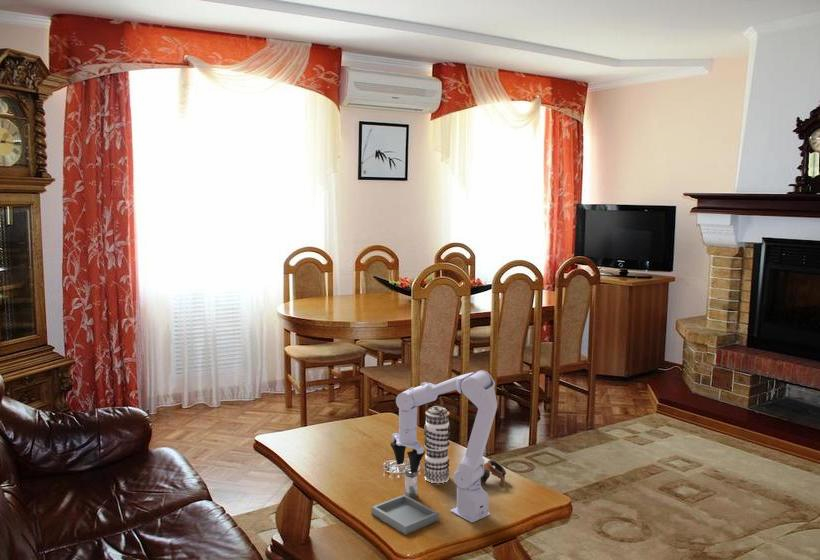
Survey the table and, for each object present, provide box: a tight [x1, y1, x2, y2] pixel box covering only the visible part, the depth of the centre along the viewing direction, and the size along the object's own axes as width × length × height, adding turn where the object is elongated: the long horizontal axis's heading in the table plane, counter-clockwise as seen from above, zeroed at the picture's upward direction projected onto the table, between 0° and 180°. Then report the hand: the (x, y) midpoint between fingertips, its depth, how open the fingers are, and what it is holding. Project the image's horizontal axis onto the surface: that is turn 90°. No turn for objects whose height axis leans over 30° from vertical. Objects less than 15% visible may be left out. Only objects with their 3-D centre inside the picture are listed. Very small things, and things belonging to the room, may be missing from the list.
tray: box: [371, 493, 440, 536], centre depth 203 cm, size 16×13×2 cm
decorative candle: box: [423, 405, 452, 484], centre depth 229 cm, size 9×9×25 cm
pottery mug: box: [480, 459, 507, 487], centre depth 227 cm, size 12×10×8 cm
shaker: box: [404, 469, 419, 499], centre depth 218 cm, size 4×4×8 cm
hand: (407, 467), depth 217 cm, fingers open, 7 cm apart
